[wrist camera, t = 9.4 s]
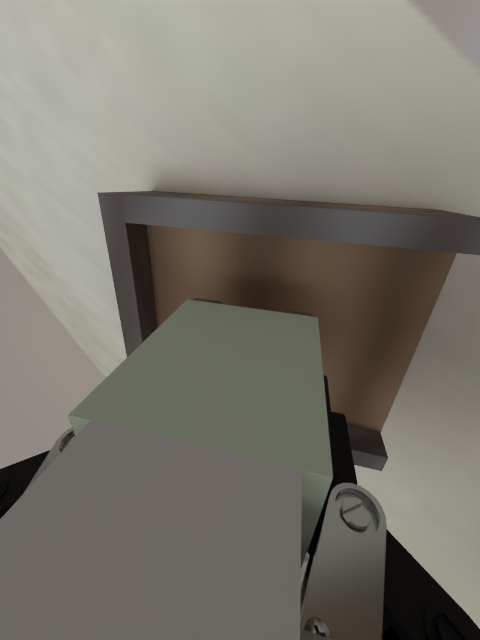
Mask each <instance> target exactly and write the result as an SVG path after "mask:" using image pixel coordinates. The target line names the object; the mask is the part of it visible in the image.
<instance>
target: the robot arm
mask: <svg viewBox="0 0 480 640" xmlns="http://www.w3.org/2000/svg"><path fill="white" fill-rule="evenodd" d="M323 376H324V387H325V397H326V408H327V419H328V429H329V440H330V450H331V461H332V471H333V479H332V482H331V485H330V488H329V490H328V493H327V496H326V499H325V502H324V505H323V508H322V511H321V513H320V516H319V519H318V522H317V525H316V528H315V531H314V534H313V536H312V539H311V542H310V545H309V548H308V551H307V553H308V554H309V556H308V560H307V564H306V568H305V572H304V576H303V580H302V584H301V597H300V640H480V629H479V628H478V627H477V625H476V624H475V623H474V622H473V620H472V619H471V618H470V617H469V616H468V615H467V613H466V612H465V611H464V610H463V609H462V608H461V607H460V606H459V605H458V604H457V603H456V602H455V601H454V600H453V599H452V598H451V597H450V596H449V594H448V593H447V592H446V591H445V590H444V589H443V588H442V587H441V586H440V585H439V584H438V583H437V582H436V581H435V580H434V579H433V578H432V577H431V576H430V574H429V573H428V572H427V571H426V570H425V569H424V568H423V567H422V566H421V565H420V564H419V563H418V562H417V561H416V560H415V559H414V558H413V557H412V555H411V554H410V553H409V552H408V551H407V550H406V549H405V548H404V547H403V546H402V545H401V544H400V543H399V542H398V541H397V540H396V539H395V538H394V537H393V535H392V534H391V533H390V532H389V531H388V530H387V529H386V527H387V525H386V517H385V514H384V511H383V509H382V507H381V505H380V504H379V502H378V501H377V499H376V498H375V497H374V496H373V495H372V494H371V493H370V492H369V491H367V490H366V489H364V488H362V487H361V486H359V485H357V479H356V473H355V468H354V462H353V456H352V450H351V444H350V439H349V433H348V427H347V421H346V417H345V415H344V414H342V413H336V412H331V406H330V397H329V388H328V379H327V376H325V375H323ZM74 438H75V434H74V431H73V429H72V428H70V429H68V430H67V431H66V432H64V433H63V434H62V435H61V436H60V437H59V438H58V440H57V441H56V442H55V444H54V446H53V447H52V449H51V450H49V451H46V452H44V453H41V454H39V455H36V456H33V457H31V458H28V459H26V460H23V461H20V462H18V463H15V464H12V465H10V466H7V467H5V468H2V469H0V519H1V518H2V517H3V516H4V515H5V514H6V512H7V511H8V510H9V509H10V508H11V507H12V506H13V505H14V504H15V503H16V502H17V500H18V499H19V498H20V497H21V496H22V495H23V494H24V493H25V492H26V491H27V489H28V488H29V487H30V486H31V485H32V484H33V483H34V482H35V481H36V480H37V478H38V477H39V476H40V475H41V474H42V473H43V472H44V471H45V470H46V469H47V468H48V466H49V465H50V464H51V463H52V462H53V461H54V460H55V459H56V458H57V457H58V455H59V454H60V453H61V452H62V451H63V450H64V449H65V448H66V447H67V446H68V444H69V443H70V442H71V441H72V440H73V439H74Z"/></svg>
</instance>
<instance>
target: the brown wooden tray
mask: <svg viewBox="0 0 480 640" xmlns="http://www.w3.org/2000/svg"><path fill="white" fill-rule="evenodd" d="M98 197H99V203H100V208H101V214H102V220H103V225H104V231H105V236H106V242H107V248H108V253H109V259H110V264H111V270H112V276H113V281H114V287H115V292H116V298H117V303H118V309H119V315H120V320H121V326H122V331H123V337H124V343H125V348H126V354H127V357H128V356H129V355H130V354H131V353H132V352H134V351H135V350H136V349H137V348H138V347H139V346H140V345H141V344H142V343H143V342H144V341H145V340H146V339H147V338H148V337H149V336H150V335H151V334H152V333H153V332H154V331H155V330H156V329H157V328H158V327H159V326H160V325H161V324H162V323H163V322H164V321H165V320H167V319H168V318H169V317H170V316H171V315H172V314H173V313H174V312H175V311H176V310H177V309H178V308H179V307H180V306H181V305H182V304H183V303H184V302H185V301H186V300H187V299H188V300H193V299H194V298H201V299H208V300H216V301H221V302H222V303H223V304H224V305H232V306H239V307H246V308H254V309H261V310H268V311H275V312H283V313H285V310H290V311H297V312H305V313H312V317H318V324H319V334H320V345H321V355H322V366H323V375H325V376H327V379H328V388H329V397H330V406H331V412H336V413H342V414H344V415H345V417H346V421H347V427H348V433H349V439H350V444H351V450H352V456H353V462H354V465H358V466H362V467H367V468H371V469H375V470H380V471H382V469H383V467H384V465H385V463H386V461H387V459H388V456H387V453H386V450H385V446H384V443H383V440H382V436H381V433H380V432H381V430H382V428H383V425H384V423H385V420H386V418H387V416H388V413H389V411H390V409H391V406H392V404H393V402H394V399H395V397H396V395H397V392H398V390H399V388H400V385H401V383H402V381H403V378H404V376H405V374H406V371H407V369H408V366H409V364H410V362H411V359H412V357H413V355H414V352H415V350H416V348H417V345H418V343H419V341H420V338H421V336H422V334H423V331H424V329H425V327H426V324H427V322H428V320H429V317H430V315H431V312H432V310H433V308H434V305H435V303H436V301H437V298H438V296H439V294H440V291H441V289H442V287H443V284H444V282H445V280H446V277H447V275H448V273H449V270H450V268H451V266H452V263H453V261H454V258H455V256H456V254H457V253H463V254H474V255H480V217H475V216H470V215H464V214H459V213H453V212H448V211H442V210H430V209H414V208H399V207H384V206H369V205H354V204H339V203H324V202H309V201H293V200H278V199H263V198H248V197H233V196H218V195H203V194H188V193H172V192H157V191H140V192H109V193H98Z"/></svg>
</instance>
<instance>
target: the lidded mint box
mask: <svg viewBox="0 0 480 640" xmlns="http://www.w3.org/2000/svg"><path fill="white" fill-rule="evenodd" d="M68 417H69V420H70V423H71V426H72V429H73V431H74V434H75V438H74V439H73V440H72V441H71V442H70V443H69V444H68V446H67V447H66V448H65V449H64V450H63V451H62V452H61V453H60V454H59V455H58V457H57V458H56V459H55V460H54V461H53V462H52V463H51V464H50V465H49V466H48V468H47V469H46V470H45V471H44V472H43V473H42V474H41V475H40V476H39V477H38V478H37V480H36V481H35V482H34V483H33V484H32V485H31V486H30V487H29V488H28V489H27V491H26V492H25V493H24V494H23V495H22V496H21V497H20V498H19V499H18V500H17V502H16V503H15V504H14V505H13V506H12V507H11V508H10V509H9V510H8V511H7V512H6V514H5V515H4V516H3V517H2V518H1V519H0V640H300V597H301V568H302V565H303V562H304V559H305V557H306V554H307V551H308V548H309V545H310V542H311V539H312V536H313V534H314V531H315V528H316V525H317V522H318V519H319V516H320V513H321V511H322V508H323V505H324V502H325V499H326V496H327V493H328V490H329V488H330V485H331V482H332V479H333V471H332V461H331V450H330V440H329V429H328V419H327V408H326V397H325V387H324V376H323V366H322V355H321V345H320V334H319V324H318V317H312V313H305V312H297V311H290V310H285V313H283V312H275V311H268V310H261V309H254V308H246V307H239V306H232V305H224V304H223V303H222V302H221V301H216V300H208V299H201V298H194V299H193V300H188V299H187V300H186V301H185V302H184V303H183V304H182V305H181V306H180V307H179V308H178V309H177V310H176V311H175V312H174V313H173V314H172V315H171V316H170V317H169V318H168V319H167V320H165V321H164V322H163V323H162V324H161V325H160V326H159V327H158V328H157V329H156V330H155V331H154V332H153V333H152V334H151V335H150V336H149V337H148V338H147V339H146V340H145V341H144V342H143V343H142V344H141V345H140V346H139V347H138V348H137V349H136V350H135V351H134V352H132V353H131V354H130V355H129V356H128V357H127V358H126V359H125V360H124V361H123V362H122V363H121V364H120V365H119V366H118V367H117V368H116V369H115V370H114V371H113V372H112V373H111V374H110V375H109V376H108V377H107V378H106V379H105V380H104V381H103V382H102V383H101V384H100V385H98V386H97V388H95V389H94V390H93V391H92V392H91V393H90V394H89V395H88V396H87V397H86V398H85V399H84V400H83V401H82V402H81V403H80V404H79V405H78V406H77V407H76V408H75V409H74V410H73V411H72V412H71V413H70V414H69V415H68Z"/></svg>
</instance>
